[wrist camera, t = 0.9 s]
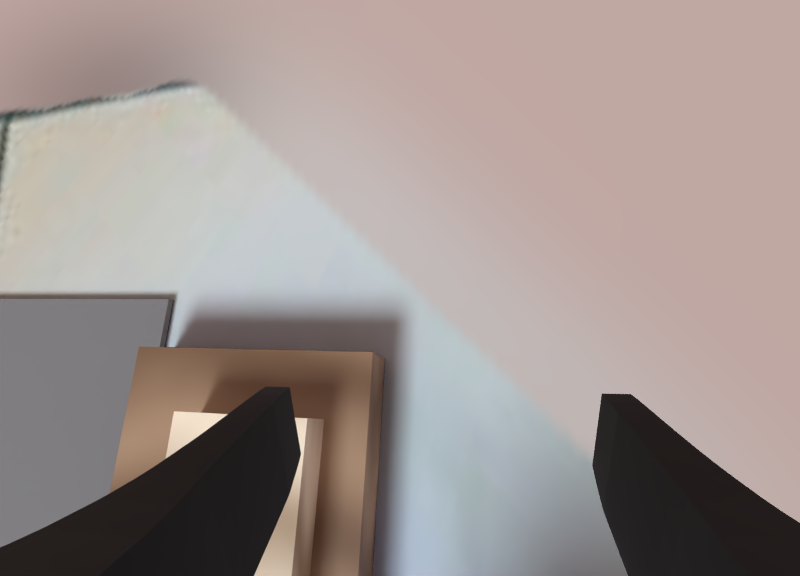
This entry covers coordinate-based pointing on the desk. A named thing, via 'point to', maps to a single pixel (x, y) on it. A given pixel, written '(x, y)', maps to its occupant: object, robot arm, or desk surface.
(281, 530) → the tile
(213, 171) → the desk surface
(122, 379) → the mat
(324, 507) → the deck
